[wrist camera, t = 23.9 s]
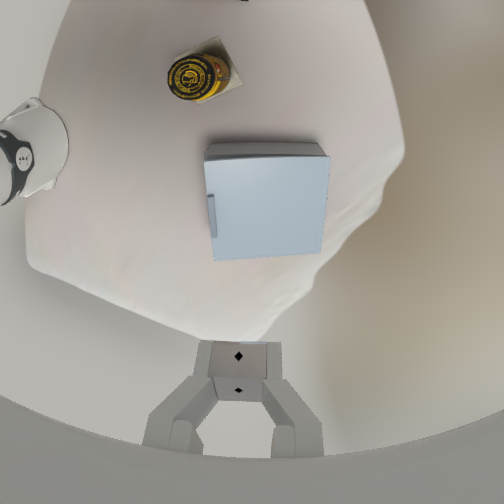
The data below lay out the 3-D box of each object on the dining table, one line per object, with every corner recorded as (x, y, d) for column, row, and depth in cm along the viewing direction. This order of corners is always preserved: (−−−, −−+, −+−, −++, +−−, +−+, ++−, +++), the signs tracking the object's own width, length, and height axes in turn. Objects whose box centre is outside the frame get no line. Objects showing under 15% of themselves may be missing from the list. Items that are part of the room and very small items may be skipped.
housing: (218, 228, 51) (213, 249, 45) (211, 143, 42) (204, 155, 37) (311, 228, 50) (317, 250, 45) (318, 143, 42) (326, 155, 36)
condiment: (198, 105, 39) (175, 117, 29) (173, 58, 34) (142, 56, 25) (243, 84, 37) (235, 88, 27) (218, 36, 33) (201, 23, 23)
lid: (213, 258, 44) (213, 264, 42) (203, 160, 35) (203, 163, 34) (319, 250, 45) (321, 256, 43) (328, 155, 36) (332, 159, 35)
